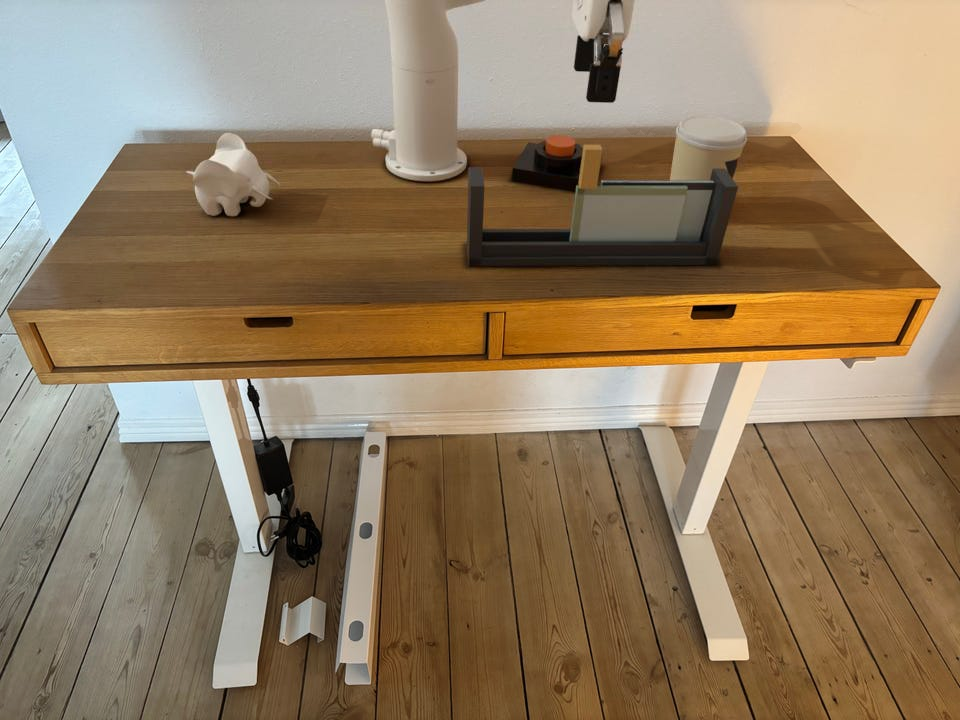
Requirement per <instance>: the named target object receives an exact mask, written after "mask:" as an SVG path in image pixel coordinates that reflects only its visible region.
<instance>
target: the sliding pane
mask: <svg viewBox="0 0 960 720" xmlns="http://www.w3.org/2000/svg"><path fill="white" fill-rule="evenodd" d="M582 148H583V153H582V161H581V168H580V176H579V185H577V186H576V192H574V193H575V194H574V202H573V208H572V209H573V210H572V218H571V225H570V229H571V232H570V240H569V242H647V241H675V240H676V235H677V231H678V227H679V223H680V218H681V214H682V210H683V206H684V201H685V197H686V193H687V189H688V188H687V186H601V185H600V184H599V185H598V183H599V176H600V169H601V167H600V163H601V164H602V161H601V157H602V158H603V155H602V154H603V147H602V145H601V144H583V147H582Z"/></svg>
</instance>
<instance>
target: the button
mask: <svg viewBox="0 0 960 720" xmlns="http://www.w3.org/2000/svg"><path fill="white" fill-rule="evenodd" d="M545 140H546V146H545V152H546V153H548V154H551V155H553V156H560V157H562V156H571V155H573V154H574V150H575V143H576V140H575V139H574V138H572V137H571V136H568V135H563V134H555V135H550V136H548V137H547V138H546V139H545Z"/></svg>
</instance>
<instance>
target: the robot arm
mask: <svg viewBox="0 0 960 720" xmlns="http://www.w3.org/2000/svg"><path fill="white" fill-rule="evenodd" d="M484 1H485V0H384V4H385V9H386V16H387V20H388V21H387V22H388V29H389V44H390V61H391V82H392V108H393V127H394V129H392V130H391V131H389V130H388V131H387V130H385V129H379V128H373V129H372V130H371V134H370V139H371V141H372V146H373V148H378V149H382V148H383V149H386V151H387V153H386V155H385V167H386V168H387V170H388V171H389V172H391V174H393V175H395V176H397V177H399V178H402V179H405V180H410V181H415V182H439V181H445V180H448V179H453V178H455V177H457V176H458V175H460V174H462V173H463V172H464V171H465V170H466V168H467V166H468V157H467V154H466V153H465V151H463V150H462V149H460V148H459V147H458V118H459V117H458V114H459V113H458V110H459V109H458V107H459V105H458V103H459V44H458V39H457V37H456V34H455V32H454V30H453V28H452V26H451V24H450V22H449V20H448V17H447V12H448V11H450V10H452V9H453V10H454V9H456V8H457V9H458V8H461V7H465V6H466V7H467V6H471V5H474V4H478V3H481V2H484ZM634 6H635V0H573V2H572V8H571V19H572V22H573V25H574V27H575V30H576V31H577V33H578V34H577V37H576V45H575V53H574V63H573V69H574V71H575V72H579V73H580V72H581V73H584V72H585V73H586V72H587V73H589V75H588V79H587V80H588V81H587V88H586V95H585V99H586V101H587V102H588V103H604V104H605V103H608V104H611V103H612V104H613V103H614V102H616V99H617V93H618V87H619V81H620V73H621V68H622V63H623V61H622V60H623V51H624V48H623V42H625V41H626V40H627V38H628V36H629V33H630V28H631V24H632V20H633V13H634Z"/></svg>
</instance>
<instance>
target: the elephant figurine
mask: <svg viewBox="0 0 960 720" xmlns="http://www.w3.org/2000/svg"><path fill="white" fill-rule="evenodd" d="M215 148H216V149H215V151H214V154H213V155H212V156H211V157H210V158H209V159H204V160H203V161H201V162H200V163H199V164H198V165H197V167H196V168H195V170H194V171H191V170H190V171H189V170H187V171H186V174H188V175H190V176H192V180H191V181H192V183H193V184H194V192H195V193H194V194H195V196H196V200H197V202H198V204H199V205H200V207H201V208H202V210H203V211H204V212H205V213H206V214H207V215H209V216H212V217H216V216H218V215H220V214H222V212H223V210H224V213H225V215H226V216H228V217H237V216H238V215H239V214H240V213H241V206H240V205H241V204H244V203H246V202H247V201H248V199H249V197H252V199H251V200H250V201H249V204H250V206H252V207H254V208H260V207H261V206H263V205H264V204H265V202H266V199H267V200H272V201H274V199H273V198H272V197H271V196H269V195H270V190H271V186H270V182H269V180H270V181H272V182H273V183H275V184H276V185H278V186H282V185H281V183H280V182H279V181H277V180H276V178H274V177H273V176H272V175H271V174H269V173H268V172H264V171H263V170H262V168H261V167H260V165H259V162H258V158H257V157H256V156H255V154H254V153H252V152H251V150H249V149H248V146H247V145H246V143H245V141H244V140H243V139H242V138H241V137H240V136H239V135H237V134H234V133H232V132H225V133H224V134H222V135H221V136H220V137H219V138H218V139H217V142H216V147H215ZM222 207H223V208H222Z"/></svg>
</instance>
